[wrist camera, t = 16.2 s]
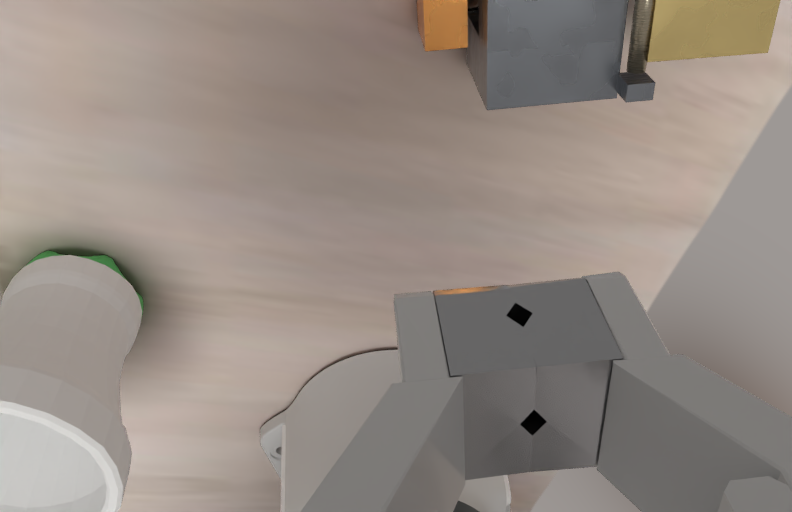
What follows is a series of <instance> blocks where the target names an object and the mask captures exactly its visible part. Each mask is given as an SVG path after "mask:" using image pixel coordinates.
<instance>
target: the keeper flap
mask: <svg viewBox="0 0 792 512" xmlns="http://www.w3.org/2000/svg"><path fill="white" fill-rule="evenodd" d="M779 4H780V0H635V6H634V14H633V22H632V30H631V38H630V46H629V54H628V62H627V72H629V73H633V74H641V73H644V72H645V71H646V64H647V62H655V61H668V60H680V59H693V58H706V57H718V56H731V55H744V54H757V53H768V50H769V46H770V41H771V37H772V33H773V29H774V25H775V20H776V16H777V12H778V8H779Z"/></svg>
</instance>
